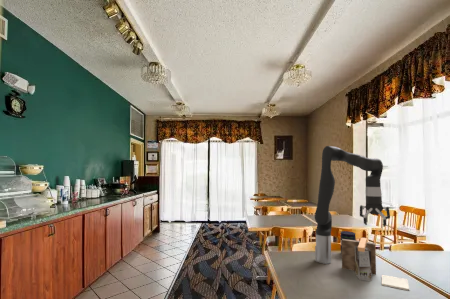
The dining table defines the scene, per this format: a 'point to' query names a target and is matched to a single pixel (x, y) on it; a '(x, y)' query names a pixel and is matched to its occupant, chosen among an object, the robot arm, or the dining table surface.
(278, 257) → the dining table surface
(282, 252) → the dining table surface
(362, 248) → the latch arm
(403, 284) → the cream pad
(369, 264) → the coffee box
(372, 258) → the brown wooden flat panel
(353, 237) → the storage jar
